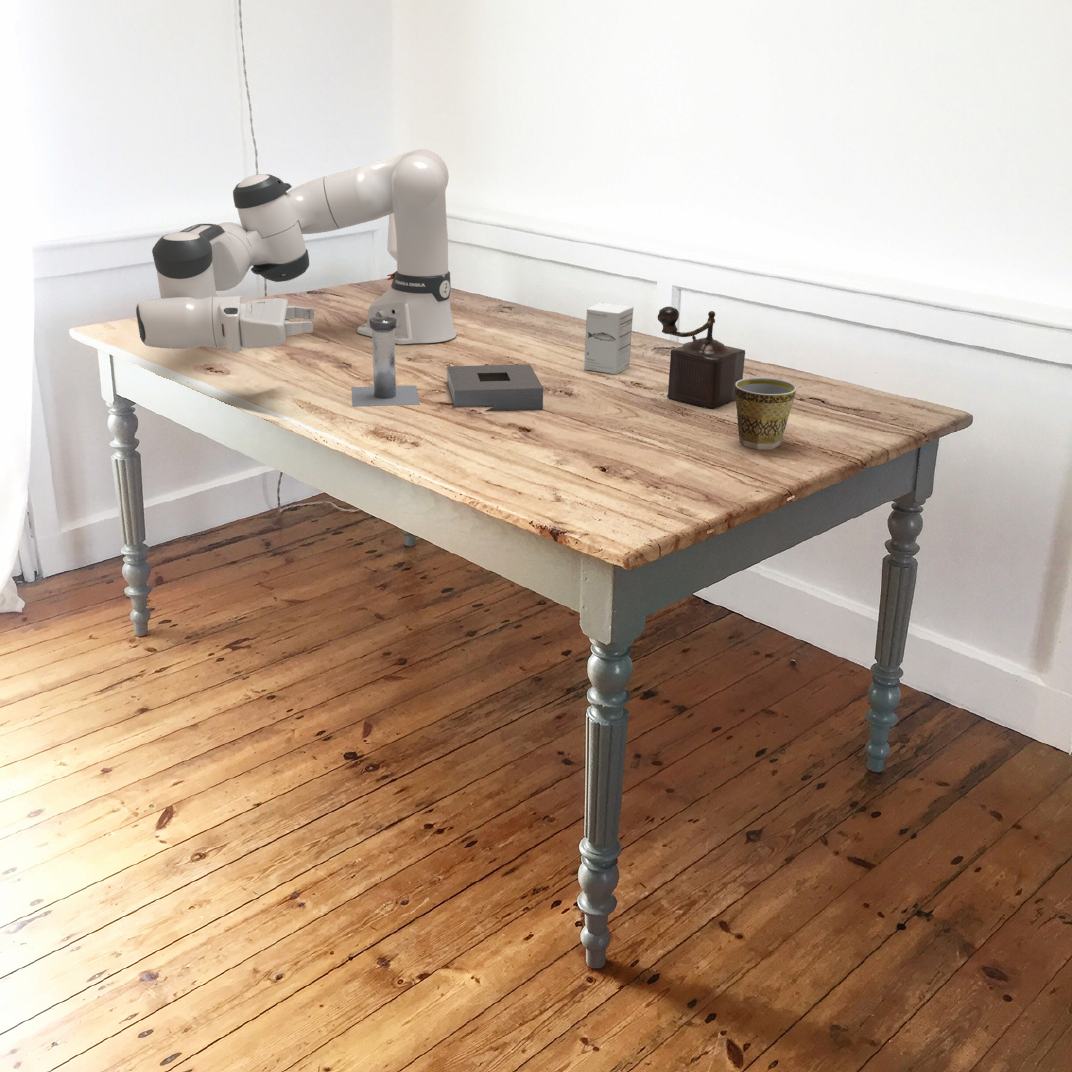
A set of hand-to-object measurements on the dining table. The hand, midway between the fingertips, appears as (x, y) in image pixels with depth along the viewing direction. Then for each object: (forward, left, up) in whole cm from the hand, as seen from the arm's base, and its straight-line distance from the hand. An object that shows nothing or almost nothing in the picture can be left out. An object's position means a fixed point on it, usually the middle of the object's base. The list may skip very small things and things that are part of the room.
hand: (313, 319), depth 202 cm
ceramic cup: (+74, +26, -16) cm, 80 cm away
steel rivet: (+9, +9, -15) cm, 19 cm away
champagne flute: (-39, +76, -16) cm, 87 cm away
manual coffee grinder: (+56, +41, -16) cm, 71 cm away
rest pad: (+9, +9, -16) cm, 20 cm away
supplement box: (+32, +51, -16) cm, 62 cm away
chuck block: (+24, +21, -16) cm, 36 cm away
